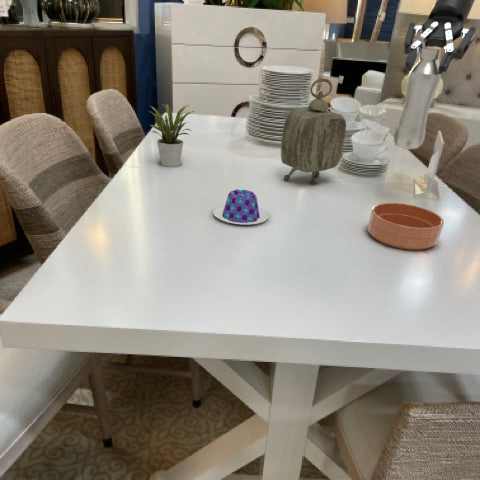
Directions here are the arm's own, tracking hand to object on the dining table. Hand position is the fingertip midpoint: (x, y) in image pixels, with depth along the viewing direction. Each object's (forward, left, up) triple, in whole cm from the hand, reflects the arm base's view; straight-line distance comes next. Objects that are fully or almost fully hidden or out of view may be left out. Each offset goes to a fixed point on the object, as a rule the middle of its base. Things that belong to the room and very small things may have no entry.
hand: (423, 69), depth 99 cm
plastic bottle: (-1, -1, -16) cm, 17 cm away
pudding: (+36, +15, -30) cm, 49 cm away
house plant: (+56, -21, -30) cm, 67 cm away
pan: (+2, +19, -30) cm, 36 cm away
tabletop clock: (+19, -15, -30) cm, 38 cm away
